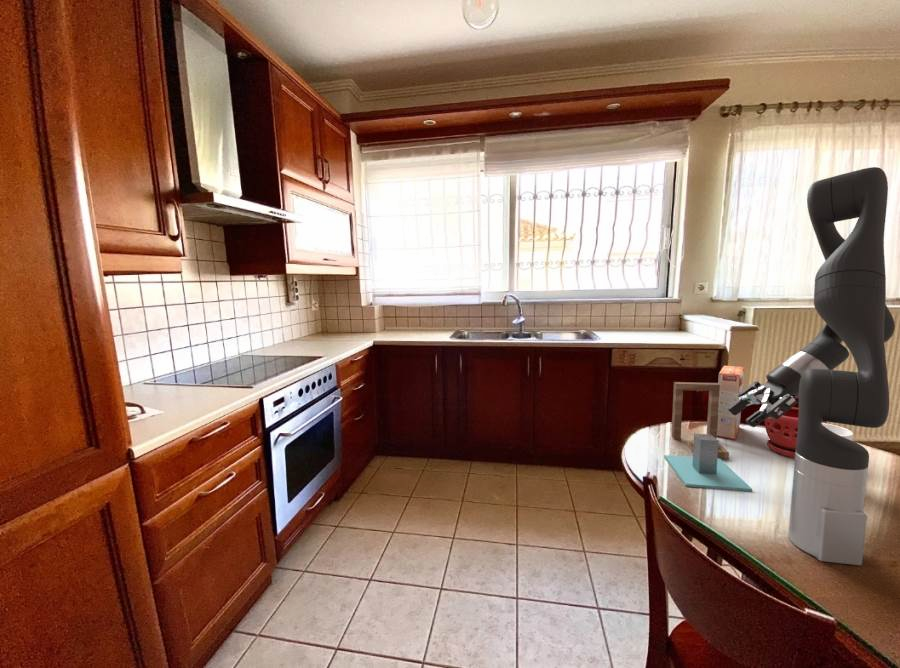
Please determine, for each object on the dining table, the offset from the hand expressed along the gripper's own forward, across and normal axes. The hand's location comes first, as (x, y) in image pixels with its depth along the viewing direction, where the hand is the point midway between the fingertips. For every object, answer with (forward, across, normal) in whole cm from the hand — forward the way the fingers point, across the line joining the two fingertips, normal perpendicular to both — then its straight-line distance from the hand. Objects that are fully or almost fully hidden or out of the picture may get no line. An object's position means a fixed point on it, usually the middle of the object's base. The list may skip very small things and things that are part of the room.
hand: (739, 418), depth 95 cm
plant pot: (-5, -17, +26) cm, 32 cm away
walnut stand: (+11, -17, +10) cm, 22 cm away
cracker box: (+2, -31, +19) cm, 37 cm away
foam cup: (-2, -1, +24) cm, 24 cm away
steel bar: (+15, 0, +5) cm, 16 cm away
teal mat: (+16, 0, +6) cm, 17 cm away
